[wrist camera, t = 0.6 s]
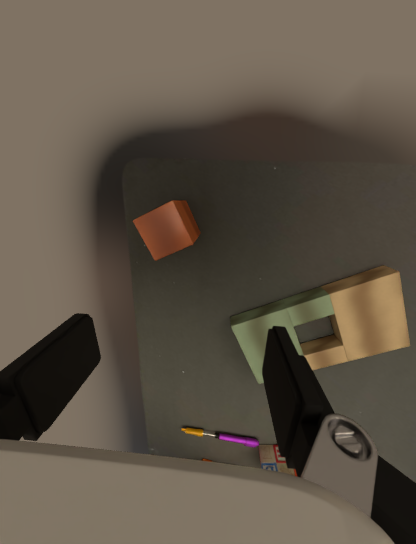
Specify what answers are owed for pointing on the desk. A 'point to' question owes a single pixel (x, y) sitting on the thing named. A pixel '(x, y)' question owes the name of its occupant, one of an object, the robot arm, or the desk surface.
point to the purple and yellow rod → (224, 437)
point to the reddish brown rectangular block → (168, 228)
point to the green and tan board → (332, 320)
